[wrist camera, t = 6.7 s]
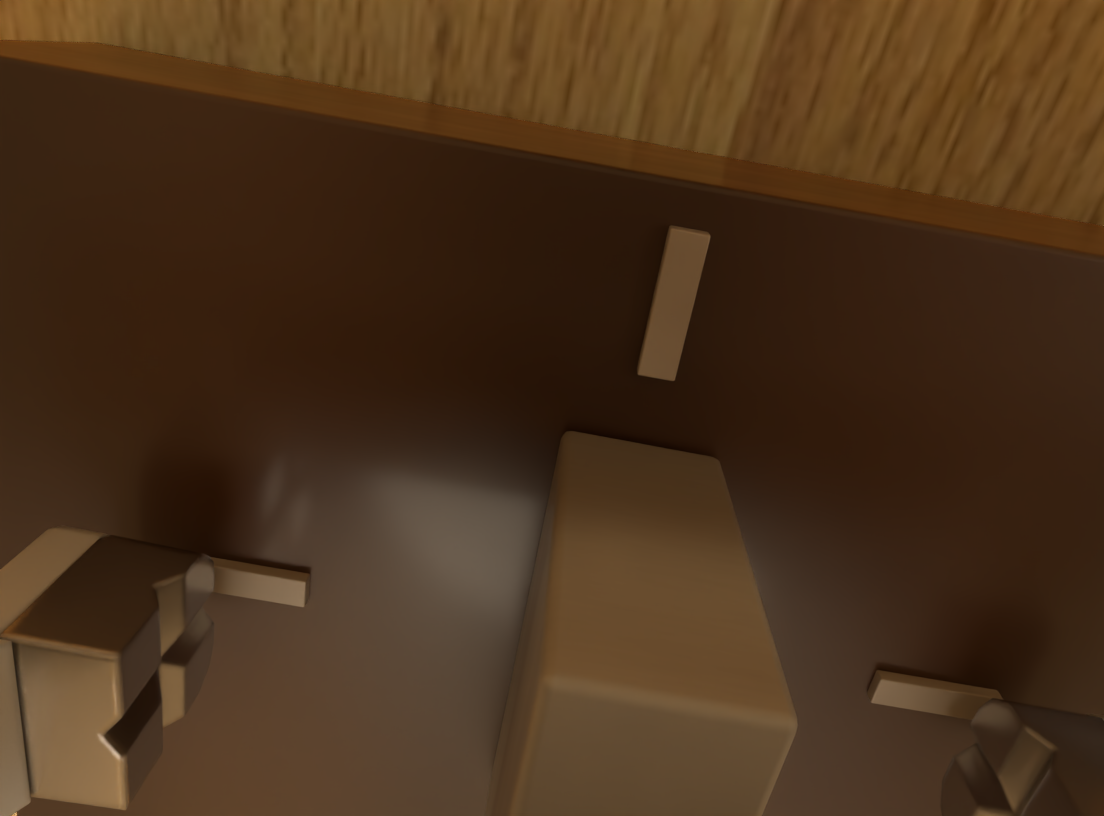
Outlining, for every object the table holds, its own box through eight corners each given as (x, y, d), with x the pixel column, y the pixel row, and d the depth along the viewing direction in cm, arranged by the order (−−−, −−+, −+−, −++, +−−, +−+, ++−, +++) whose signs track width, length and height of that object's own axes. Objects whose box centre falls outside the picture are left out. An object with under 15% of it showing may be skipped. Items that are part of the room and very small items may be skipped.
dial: (563, 425, 8) (537, 709, 4) (721, 454, 8) (816, 757, 4) (489, 782, 10) (432, 1165, 6) (616, 805, 10) (626, 1196, 7)
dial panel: (1229, 248, 10) (1495, 329, 7) (935, 811, 14) (1024, 1010, 11) (95, 41, 9) (-124, 34, 7) (134, 678, 14) (9, 847, 11)
